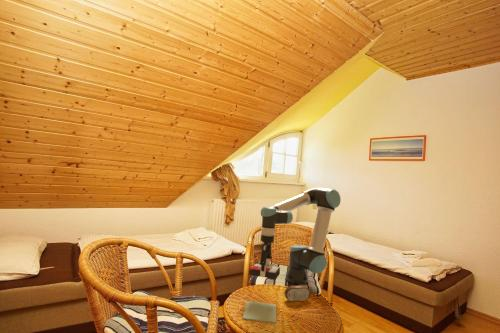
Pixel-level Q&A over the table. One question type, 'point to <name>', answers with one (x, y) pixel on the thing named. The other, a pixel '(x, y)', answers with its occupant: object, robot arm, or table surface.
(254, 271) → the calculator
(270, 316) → the mat
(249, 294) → the table surface
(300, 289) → the tin
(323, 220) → the robot arm
